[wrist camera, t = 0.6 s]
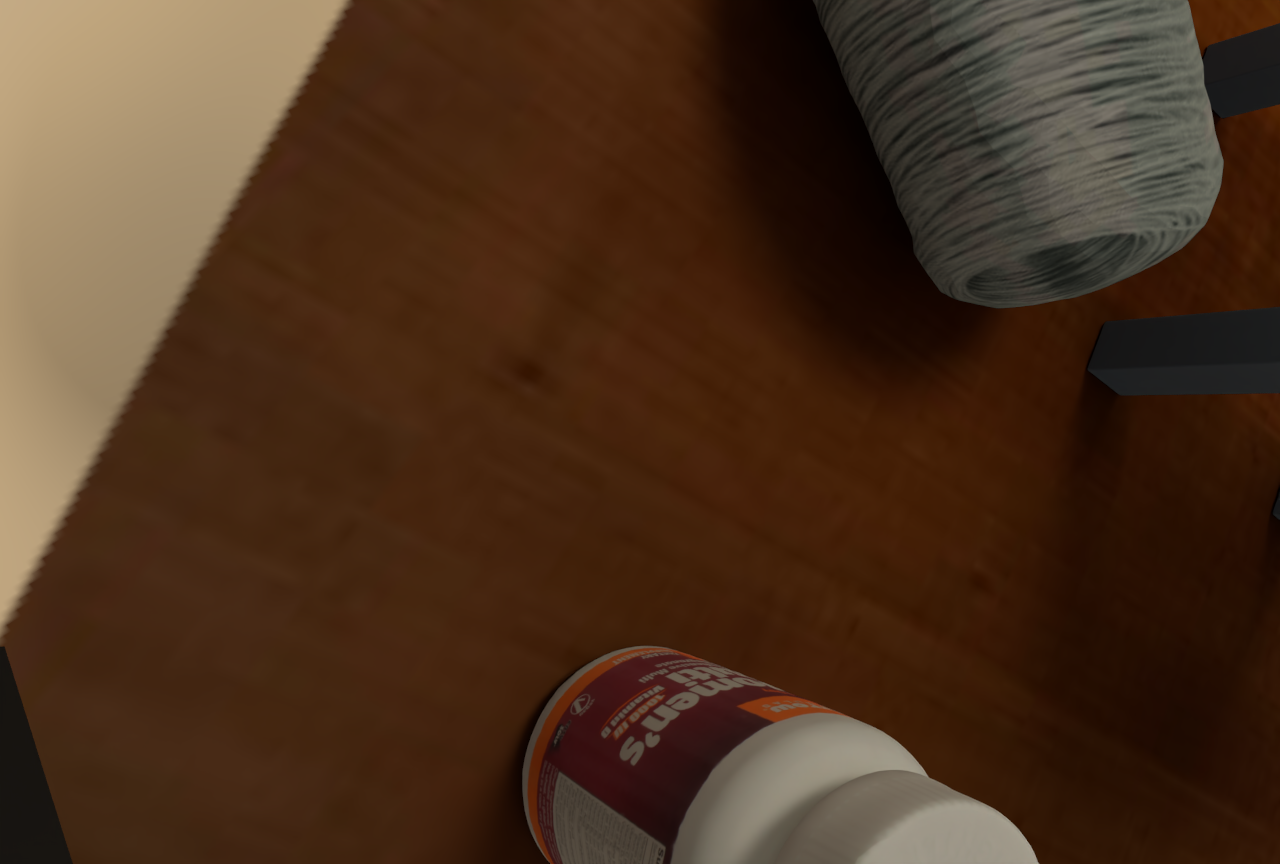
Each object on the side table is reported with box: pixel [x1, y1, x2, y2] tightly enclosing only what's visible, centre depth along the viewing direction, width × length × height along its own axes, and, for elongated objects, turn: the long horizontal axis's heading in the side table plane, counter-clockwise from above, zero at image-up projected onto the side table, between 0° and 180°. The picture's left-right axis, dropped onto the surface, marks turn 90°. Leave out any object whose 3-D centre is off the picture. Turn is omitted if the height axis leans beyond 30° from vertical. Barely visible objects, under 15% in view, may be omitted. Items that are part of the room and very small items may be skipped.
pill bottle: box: [522, 646, 1039, 864], centre depth 24 cm, size 6×6×11 cm
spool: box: [813, 0, 1224, 308], centre depth 29 cm, size 14×10×10 cm
